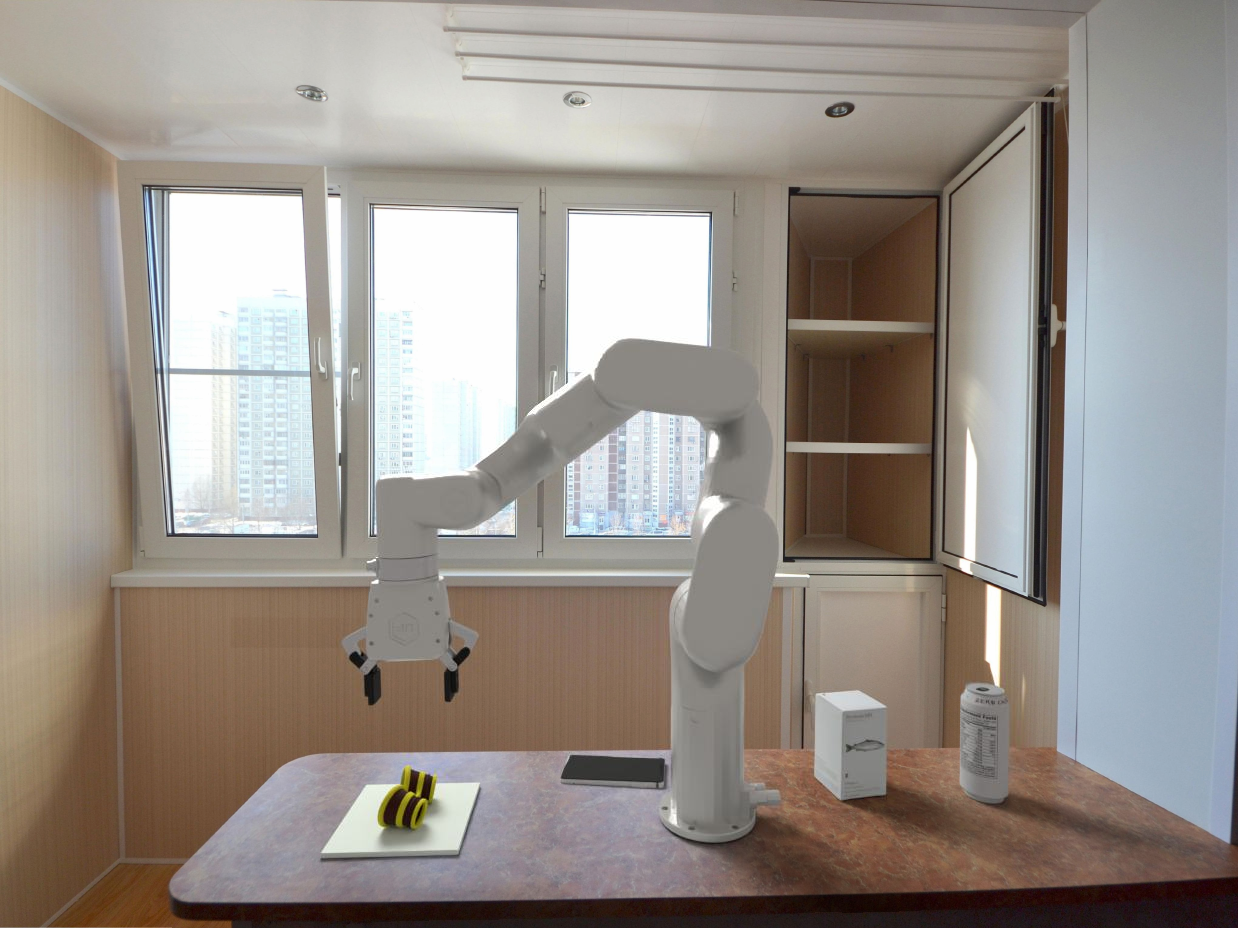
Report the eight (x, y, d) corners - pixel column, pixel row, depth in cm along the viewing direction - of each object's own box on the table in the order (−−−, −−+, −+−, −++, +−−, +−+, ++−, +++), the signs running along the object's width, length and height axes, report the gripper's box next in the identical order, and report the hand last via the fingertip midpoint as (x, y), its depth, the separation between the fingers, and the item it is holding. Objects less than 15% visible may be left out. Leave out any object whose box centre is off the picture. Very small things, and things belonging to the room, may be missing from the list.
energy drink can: (1018, 799, 91) (1019, 691, 91) (990, 809, 88) (991, 698, 88) (977, 779, 96) (979, 678, 96) (950, 789, 94) (951, 684, 94)
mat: (480, 786, 94) (480, 782, 94) (458, 854, 78) (458, 849, 78) (366, 788, 93) (366, 784, 93) (320, 858, 77) (320, 853, 77)
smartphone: (569, 753, 103) (664, 757, 102) (569, 761, 103) (665, 764, 102) (559, 778, 95) (663, 782, 94) (559, 787, 95) (663, 791, 94)
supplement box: (840, 802, 90) (841, 710, 90) (813, 776, 97) (813, 691, 97) (888, 796, 92) (889, 706, 92) (857, 771, 99) (858, 688, 99)
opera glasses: (415, 842, 81) (423, 802, 81) (373, 833, 81) (380, 794, 81) (436, 800, 91) (443, 765, 91) (398, 793, 91) (406, 757, 90)
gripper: (329, 576, 81) (333, 714, 81) (470, 571, 82) (474, 708, 82) (351, 566, 89) (355, 692, 89) (480, 561, 89) (484, 687, 90)
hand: (412, 699), depth 85 cm, fingers open, 9 cm apart
